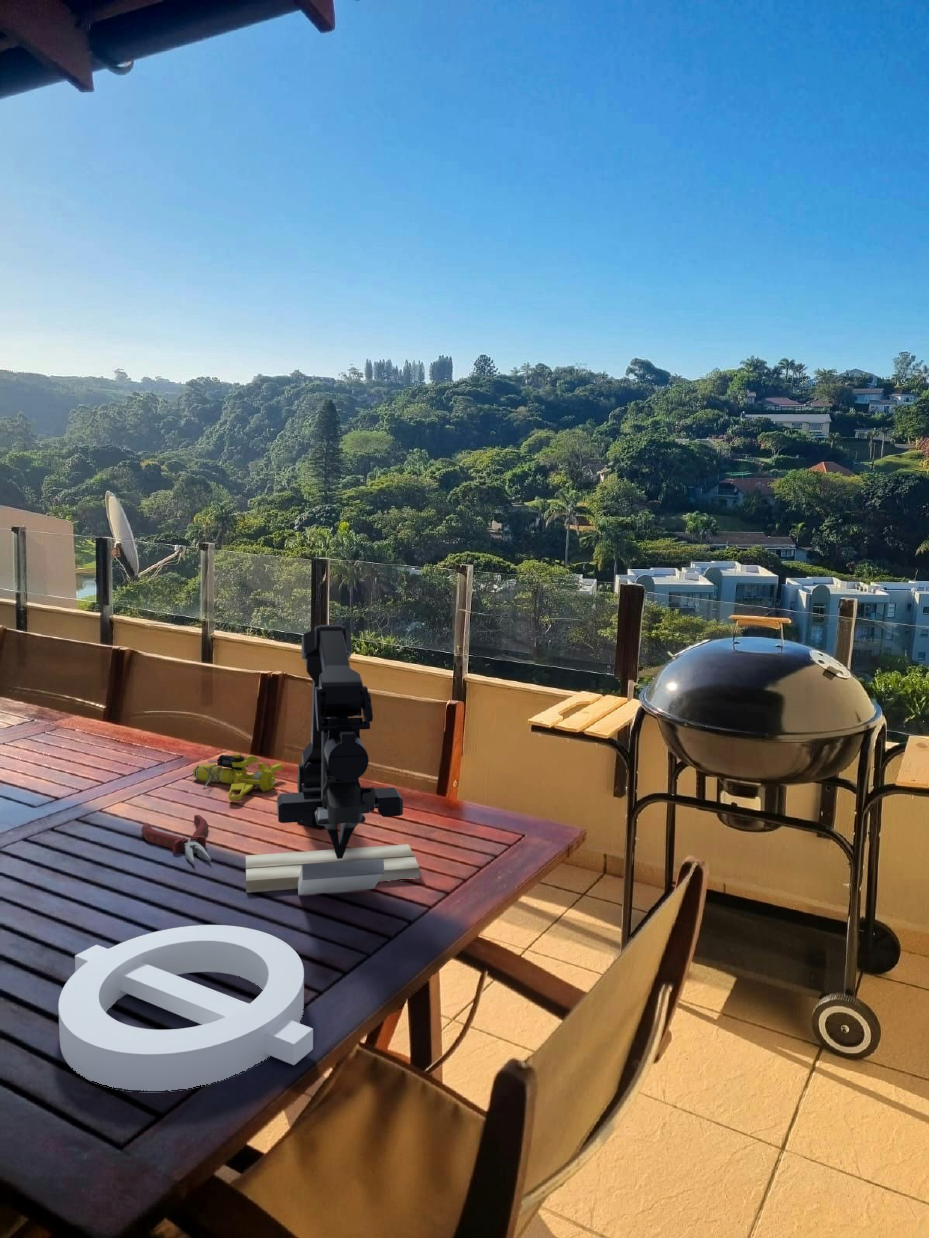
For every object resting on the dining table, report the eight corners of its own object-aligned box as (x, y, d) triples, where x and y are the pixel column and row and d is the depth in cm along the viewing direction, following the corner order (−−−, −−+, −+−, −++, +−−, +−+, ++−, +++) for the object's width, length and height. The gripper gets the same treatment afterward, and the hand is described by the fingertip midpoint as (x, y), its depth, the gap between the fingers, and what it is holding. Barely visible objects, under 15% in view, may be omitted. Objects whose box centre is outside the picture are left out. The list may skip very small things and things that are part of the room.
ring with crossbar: (317, 1071, 98) (317, 1032, 97) (40, 1115, 90) (38, 1072, 89) (292, 946, 124) (292, 914, 124) (77, 971, 116) (75, 938, 116)
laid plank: (245, 866, 149) (245, 854, 149) (408, 854, 156) (408, 843, 156) (246, 892, 140) (246, 879, 139) (419, 878, 146) (419, 866, 146)
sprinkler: (216, 738, 200) (292, 746, 193) (219, 770, 201) (294, 779, 194) (160, 766, 182) (242, 775, 175) (163, 800, 184) (244, 811, 177)
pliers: (168, 875, 146) (168, 860, 146) (139, 835, 163) (139, 821, 162) (235, 862, 152) (235, 848, 152) (201, 824, 169) (201, 811, 168)
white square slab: (297, 881, 140) (302, 864, 129) (372, 875, 143) (383, 858, 132) (298, 894, 139) (302, 878, 128) (373, 888, 142) (384, 872, 131)
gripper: (280, 780, 124) (280, 885, 126) (410, 773, 128) (408, 875, 131) (277, 756, 134) (277, 854, 137) (397, 751, 139) (395, 845, 141)
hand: (339, 857), depth 136 cm, fingers closed
